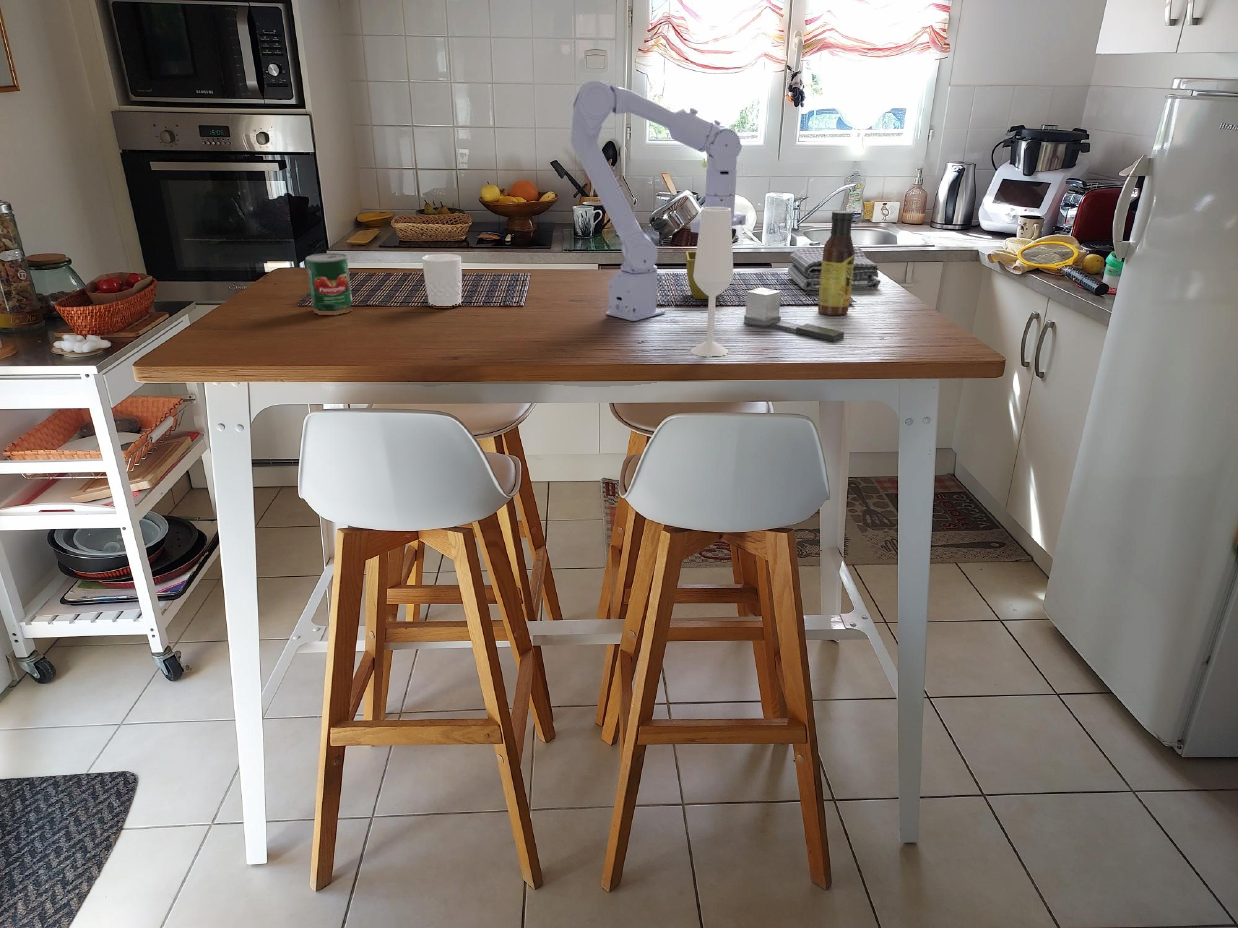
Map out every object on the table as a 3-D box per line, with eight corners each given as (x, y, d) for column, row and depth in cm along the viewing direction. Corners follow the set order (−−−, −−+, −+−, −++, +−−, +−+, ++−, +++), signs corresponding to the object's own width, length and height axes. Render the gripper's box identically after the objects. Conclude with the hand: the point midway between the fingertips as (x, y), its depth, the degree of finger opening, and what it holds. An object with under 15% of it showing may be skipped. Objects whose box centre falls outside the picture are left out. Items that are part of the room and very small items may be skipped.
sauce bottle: (849, 317, 169) (860, 214, 161) (817, 315, 170) (827, 213, 162) (847, 309, 175) (859, 210, 166) (816, 308, 176) (826, 209, 168)
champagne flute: (725, 346, 150) (733, 206, 141) (731, 357, 144) (740, 211, 134) (688, 346, 150) (693, 206, 140) (692, 357, 144) (698, 212, 134)
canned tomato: (328, 318, 168) (320, 262, 163) (305, 312, 172) (296, 257, 168) (361, 310, 174) (355, 256, 169) (338, 304, 178) (331, 251, 173)
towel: (784, 279, 203) (787, 245, 200) (859, 277, 204) (863, 244, 201) (802, 293, 189) (805, 258, 186) (882, 292, 191) (886, 257, 187)
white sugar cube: (764, 321, 161) (766, 295, 159) (745, 317, 164) (747, 291, 162) (778, 317, 164) (780, 291, 162) (759, 312, 167) (761, 287, 165)
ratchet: (848, 337, 156) (850, 316, 154) (827, 345, 151) (829, 323, 150) (758, 317, 169) (759, 298, 168) (736, 323, 165) (737, 304, 163)
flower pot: (727, 302, 181) (729, 259, 177) (686, 301, 181) (687, 259, 177) (723, 292, 189) (725, 251, 185) (684, 292, 189) (685, 251, 185)
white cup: (468, 301, 180) (465, 254, 176) (459, 310, 173) (455, 261, 169) (432, 300, 181) (428, 253, 177) (421, 309, 174) (416, 260, 170)
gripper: (712, 200, 156) (708, 274, 161) (759, 193, 165) (755, 263, 171) (683, 196, 160) (681, 268, 166) (731, 190, 170) (727, 258, 175)
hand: (716, 265), depth 169 cm, fingers closed
